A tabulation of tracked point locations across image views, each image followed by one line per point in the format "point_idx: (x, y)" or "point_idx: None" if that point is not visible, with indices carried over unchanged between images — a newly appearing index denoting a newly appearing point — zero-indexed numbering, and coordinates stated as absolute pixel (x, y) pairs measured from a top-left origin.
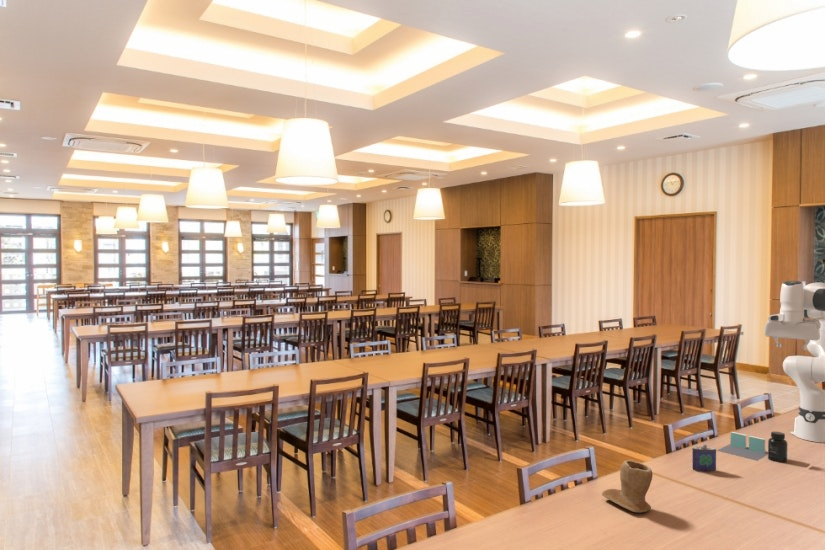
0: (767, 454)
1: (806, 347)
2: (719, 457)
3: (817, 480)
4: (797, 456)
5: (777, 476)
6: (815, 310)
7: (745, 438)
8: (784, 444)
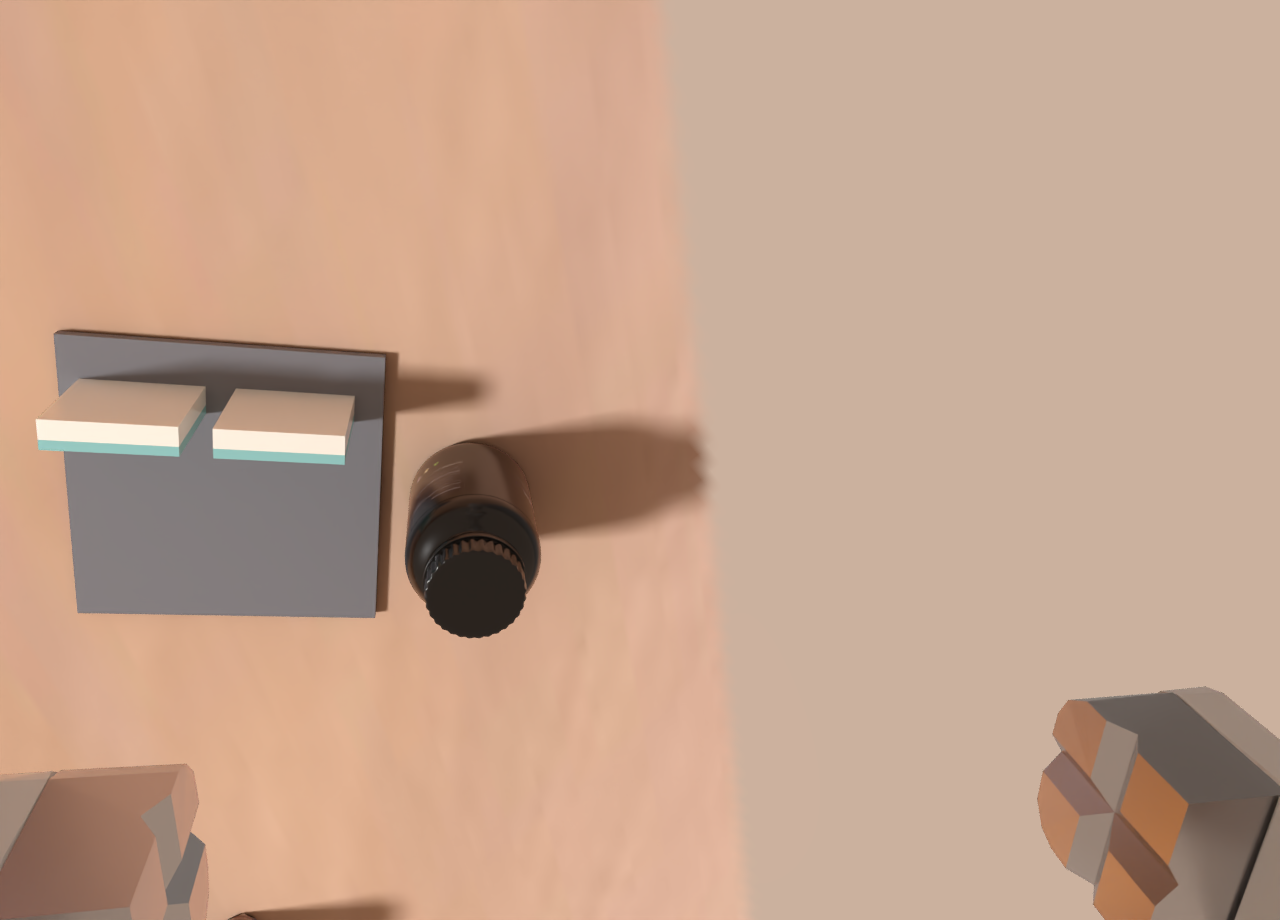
0: (382, 430)
1: (1265, 760)
2: (156, 702)
3: (720, 669)
4: (551, 269)
5: (540, 764)
6: None
7: (185, 438)
8: (529, 589)
